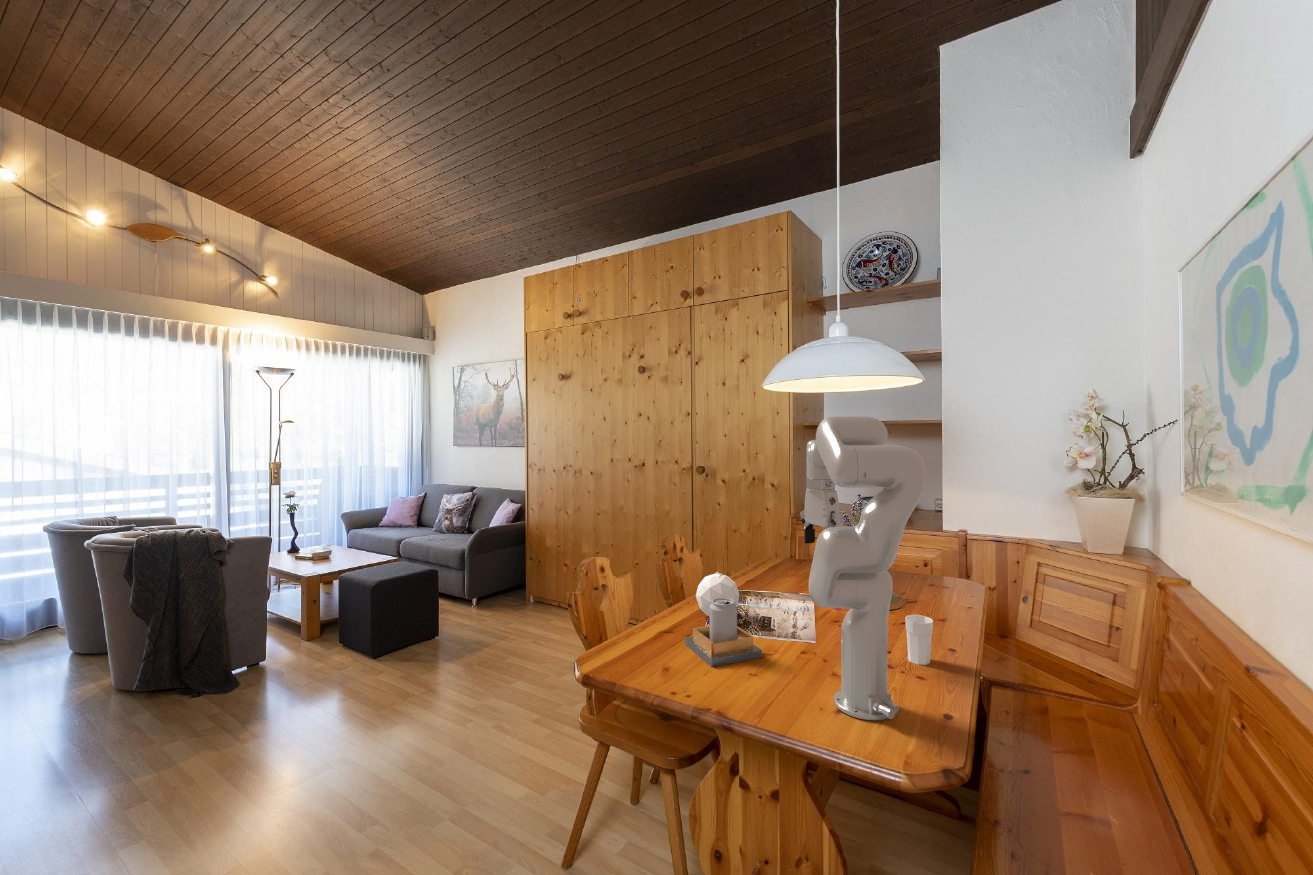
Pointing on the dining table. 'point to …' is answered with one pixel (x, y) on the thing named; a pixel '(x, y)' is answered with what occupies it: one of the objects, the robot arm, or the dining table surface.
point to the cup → (919, 638)
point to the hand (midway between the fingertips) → (820, 546)
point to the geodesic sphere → (715, 591)
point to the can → (723, 620)
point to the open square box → (722, 647)
